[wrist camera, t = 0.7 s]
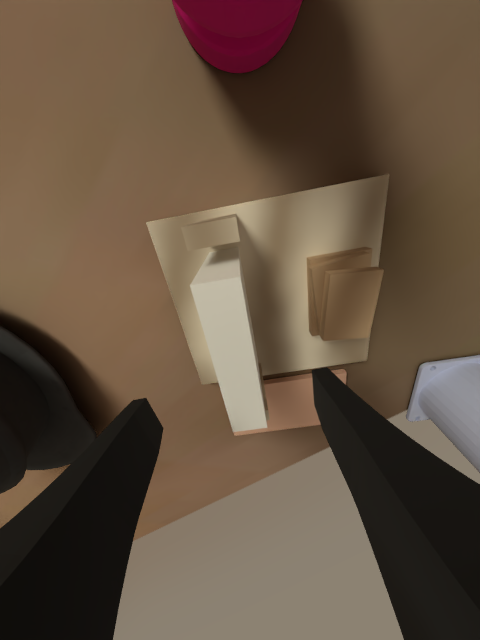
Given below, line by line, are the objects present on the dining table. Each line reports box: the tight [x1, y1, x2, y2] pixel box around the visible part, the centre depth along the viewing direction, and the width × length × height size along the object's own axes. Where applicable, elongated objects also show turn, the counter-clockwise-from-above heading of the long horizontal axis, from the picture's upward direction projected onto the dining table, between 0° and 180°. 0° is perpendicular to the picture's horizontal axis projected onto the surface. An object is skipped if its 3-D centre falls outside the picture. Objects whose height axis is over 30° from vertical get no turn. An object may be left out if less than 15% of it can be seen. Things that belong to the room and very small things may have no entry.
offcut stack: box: [307, 247, 384, 341], centre depth 15 cm, size 4×6×2 cm
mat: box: [234, 369, 347, 436], centre depth 23 cm, size 12×7×1 cm, turn 100°
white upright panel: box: [190, 247, 267, 432], centre depth 14 cm, size 2×9×7 cm, turn 10°
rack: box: [146, 174, 390, 420], centre depth 15 cm, size 15×14×6 cm
